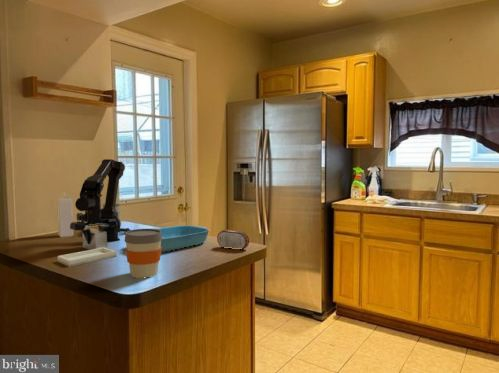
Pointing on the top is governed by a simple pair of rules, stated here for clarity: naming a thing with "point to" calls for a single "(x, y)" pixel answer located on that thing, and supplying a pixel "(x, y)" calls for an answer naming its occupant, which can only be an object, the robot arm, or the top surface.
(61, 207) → the milk
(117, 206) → the milk frother
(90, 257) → the tray
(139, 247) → the reusable coffee cup
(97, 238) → the white rectangular block
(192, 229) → the casserole dish
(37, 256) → the top surface
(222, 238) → the portable speaker
